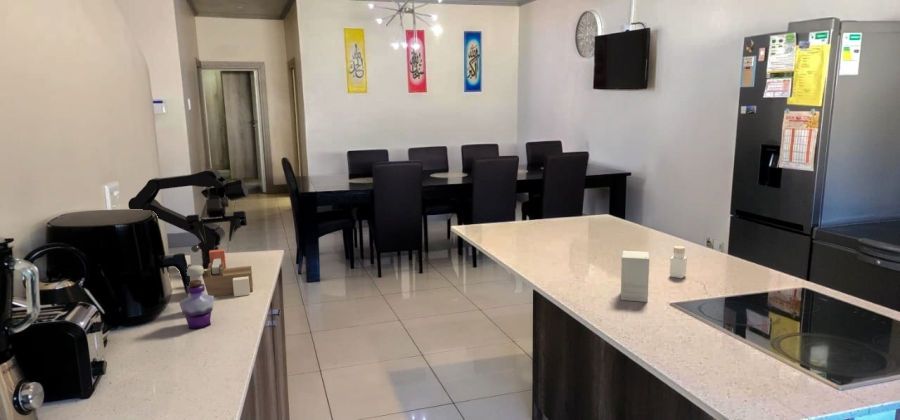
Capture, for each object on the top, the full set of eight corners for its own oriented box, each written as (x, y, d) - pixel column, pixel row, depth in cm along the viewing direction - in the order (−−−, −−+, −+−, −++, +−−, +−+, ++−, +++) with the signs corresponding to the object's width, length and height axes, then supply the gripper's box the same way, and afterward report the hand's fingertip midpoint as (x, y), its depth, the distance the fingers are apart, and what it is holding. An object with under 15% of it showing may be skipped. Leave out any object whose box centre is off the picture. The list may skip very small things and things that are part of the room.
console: (191, 291, 178) (188, 265, 176) (252, 284, 183) (250, 259, 182) (188, 299, 170) (185, 272, 169) (252, 291, 176) (250, 265, 174)
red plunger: (211, 268, 185) (209, 250, 184) (226, 267, 187) (224, 249, 185) (208, 280, 173) (206, 261, 172) (224, 278, 174) (222, 259, 173)
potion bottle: (191, 319, 155) (186, 276, 152) (223, 318, 154) (218, 275, 152) (175, 332, 146) (169, 286, 144) (208, 331, 146) (204, 286, 144)
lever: (192, 278, 171) (189, 245, 173) (203, 277, 172) (201, 244, 174) (191, 277, 169) (188, 244, 170) (202, 276, 170) (200, 243, 171)
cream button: (234, 293, 174) (232, 278, 173) (249, 292, 175) (248, 276, 174) (234, 296, 172) (232, 280, 171) (249, 294, 173) (248, 278, 172)
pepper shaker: (686, 276, 182) (688, 246, 180) (681, 279, 179) (683, 249, 177) (673, 273, 185) (675, 244, 183) (668, 276, 182) (670, 247, 180)
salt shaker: (202, 315, 157) (197, 269, 154) (183, 314, 158) (178, 269, 156) (214, 308, 163) (210, 263, 160) (196, 307, 164) (191, 262, 161)
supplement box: (647, 294, 167) (649, 251, 164) (647, 302, 160) (649, 258, 157) (621, 291, 169) (622, 249, 167) (619, 300, 162) (621, 256, 160)
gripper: (183, 191, 190) (182, 231, 182) (243, 187, 196) (245, 225, 187) (188, 210, 199) (188, 249, 191) (246, 206, 204) (248, 243, 196)
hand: (217, 241), depth 191 cm, fingers open, 7 cm apart
